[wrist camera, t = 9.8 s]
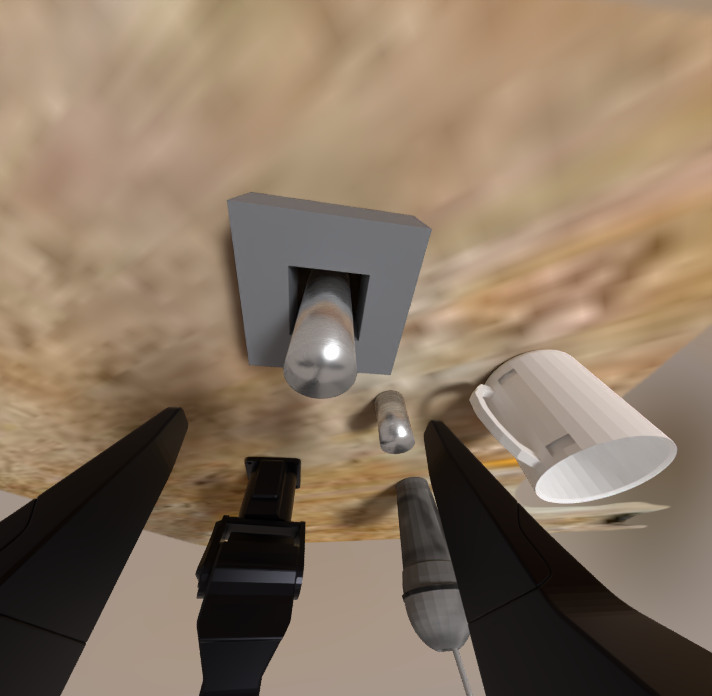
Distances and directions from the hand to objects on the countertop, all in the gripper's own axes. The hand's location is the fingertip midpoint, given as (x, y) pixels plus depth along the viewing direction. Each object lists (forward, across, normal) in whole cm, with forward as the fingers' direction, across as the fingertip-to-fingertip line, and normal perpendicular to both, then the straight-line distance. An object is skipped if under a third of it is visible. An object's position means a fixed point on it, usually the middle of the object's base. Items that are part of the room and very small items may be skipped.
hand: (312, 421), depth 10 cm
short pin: (+12, -7, +11) cm, 18 cm away
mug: (+12, -19, +7) cm, 24 cm away
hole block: (+12, 0, -1) cm, 12 cm away
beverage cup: (+12, -14, +28) cm, 34 cm away
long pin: (+12, 0, -1) cm, 12 cm away
